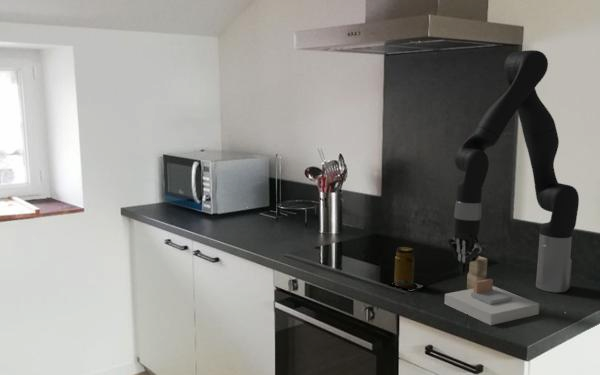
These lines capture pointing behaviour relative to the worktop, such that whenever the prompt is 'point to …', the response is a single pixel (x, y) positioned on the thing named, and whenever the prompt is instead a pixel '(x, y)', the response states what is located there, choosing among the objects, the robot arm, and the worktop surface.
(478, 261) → the peg
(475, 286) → the brown block on tile
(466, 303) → the socket plate
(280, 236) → the worktop surface
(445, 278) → the worktop surface
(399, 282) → the condiment
